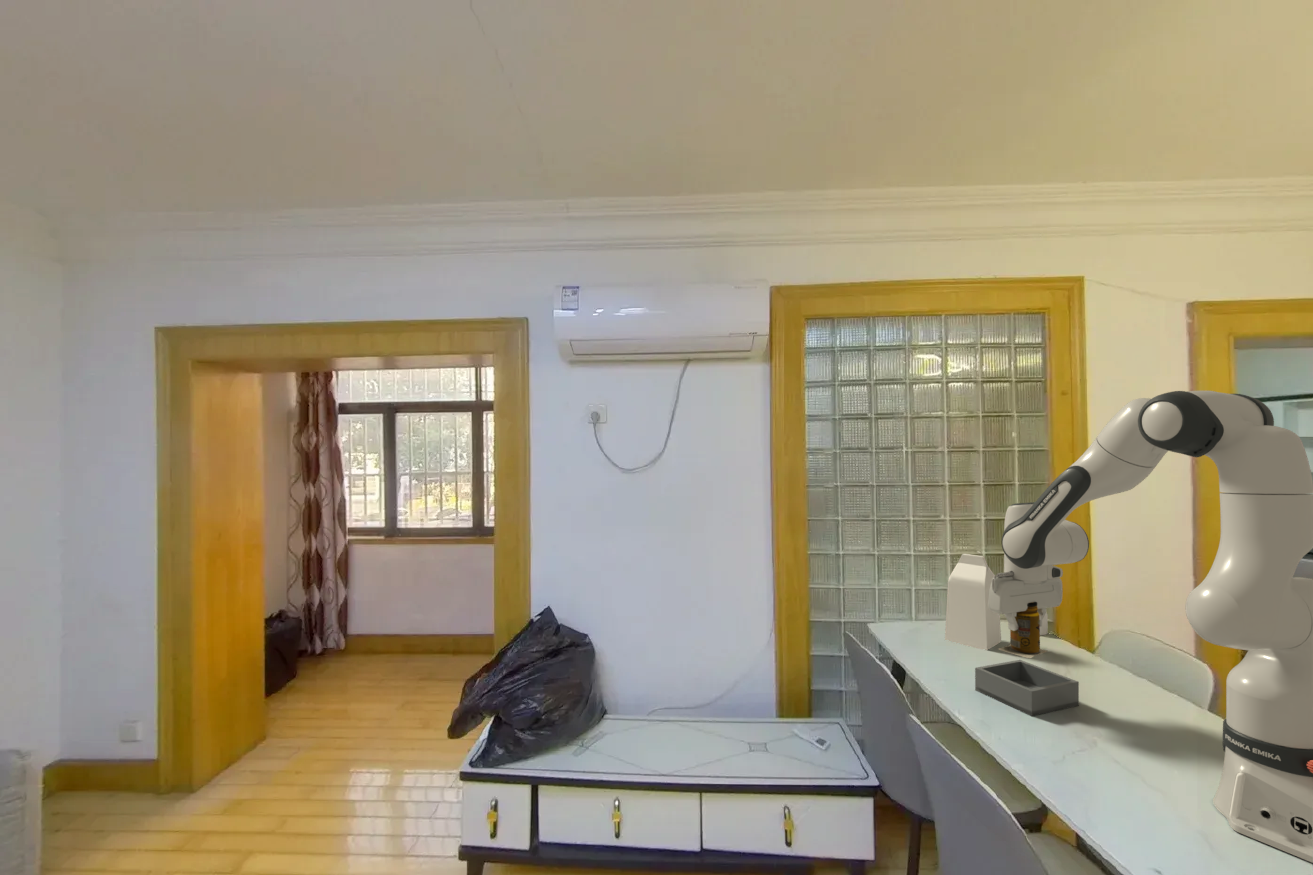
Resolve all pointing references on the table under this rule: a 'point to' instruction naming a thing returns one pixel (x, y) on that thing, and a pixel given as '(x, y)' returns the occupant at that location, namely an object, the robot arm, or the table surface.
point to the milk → (971, 605)
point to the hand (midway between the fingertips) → (1025, 628)
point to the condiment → (1026, 634)
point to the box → (1027, 687)
